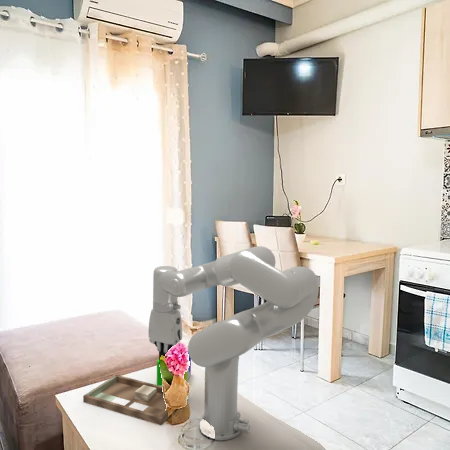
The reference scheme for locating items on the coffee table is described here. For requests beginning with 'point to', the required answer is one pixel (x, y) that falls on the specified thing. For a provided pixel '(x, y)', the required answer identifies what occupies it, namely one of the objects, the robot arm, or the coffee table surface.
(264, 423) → the coffee table surface
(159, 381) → the puzzle toy
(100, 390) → the box
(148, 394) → the block
